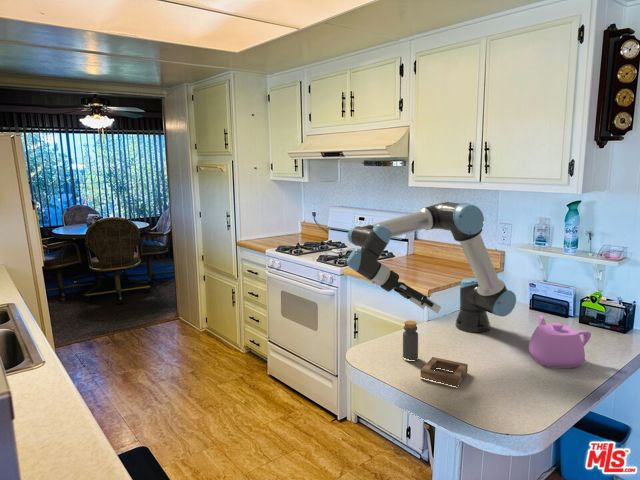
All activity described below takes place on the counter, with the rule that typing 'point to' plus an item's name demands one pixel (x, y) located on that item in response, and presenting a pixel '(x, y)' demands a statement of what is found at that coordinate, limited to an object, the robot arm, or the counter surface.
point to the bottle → (410, 340)
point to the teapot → (558, 345)
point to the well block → (445, 378)
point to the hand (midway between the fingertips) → (431, 307)
